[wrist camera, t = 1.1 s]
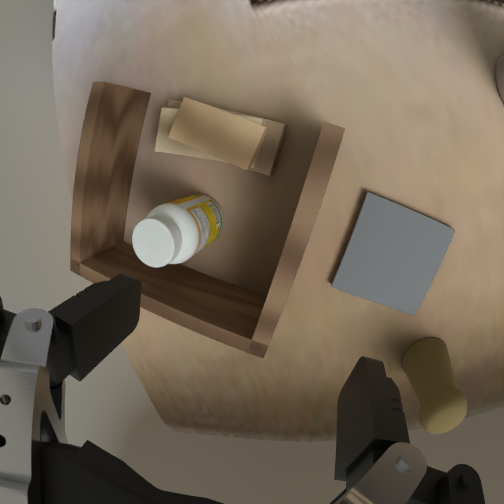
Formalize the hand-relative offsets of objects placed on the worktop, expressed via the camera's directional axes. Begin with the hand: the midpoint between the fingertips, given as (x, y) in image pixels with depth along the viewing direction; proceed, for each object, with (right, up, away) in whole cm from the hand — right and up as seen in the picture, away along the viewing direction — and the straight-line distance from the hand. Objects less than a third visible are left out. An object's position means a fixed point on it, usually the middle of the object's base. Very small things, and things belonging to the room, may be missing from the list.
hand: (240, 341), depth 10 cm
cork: (+21, -10, +20) cm, 31 cm away
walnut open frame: (-4, +9, +20) cm, 23 cm away
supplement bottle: (-5, +7, +22) cm, 23 cm away
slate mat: (+14, +3, +18) cm, 23 cm away
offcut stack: (-3, +15, +18) cm, 23 cm away
